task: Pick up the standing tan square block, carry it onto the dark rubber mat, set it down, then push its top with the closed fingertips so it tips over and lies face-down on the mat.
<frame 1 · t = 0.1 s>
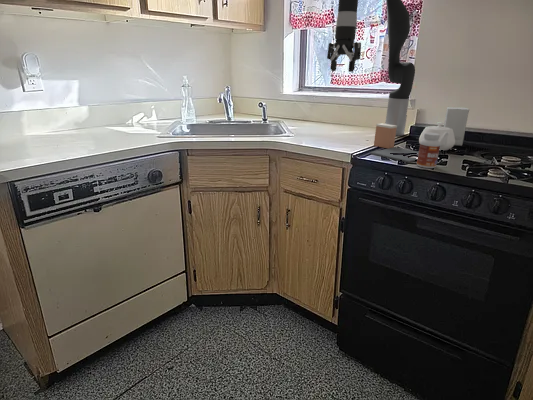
hand: (341, 71, 144), 29 cm above the worktop, fingers open, 8 cm apart
teapot: (435, 149, 152), on the worktop
tan square block: (383, 146, 153), on the worktop
pill bottle: (425, 166, 124), on the worktop
skincare box: (450, 144, 162), on the worktop
mat: (401, 155, 139), on the worktop
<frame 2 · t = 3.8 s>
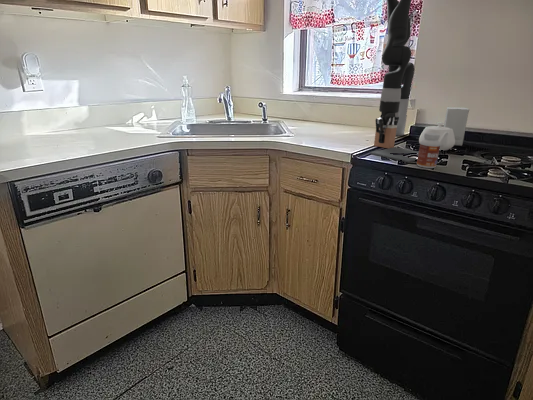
hand: (384, 142, 152), 2 cm above the worktop, fingers closed on tan square block, 4 cm apart
tan square block: (383, 146, 153), on the worktop, touching gripper
everything else where it was.
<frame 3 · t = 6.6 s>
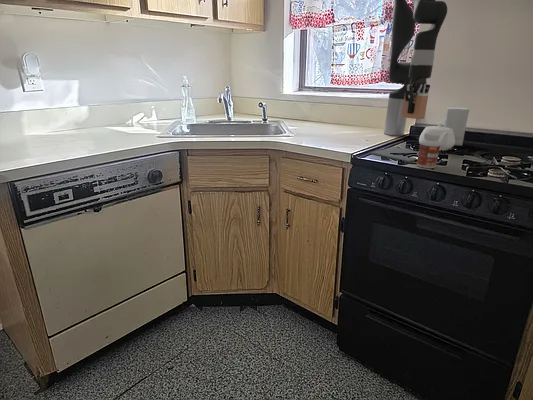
hand: (413, 112, 136), 15 cm above the worktop, fingers closed on tan square block, 4 cm apart
tan square block: (412, 117, 137), point 14 cm above the worktop, touching gripper
everything else where it was.
when the fingers open (4 cm above the worktop, at t = 9.4 s): tan square block drops 1 cm, resting on mat.
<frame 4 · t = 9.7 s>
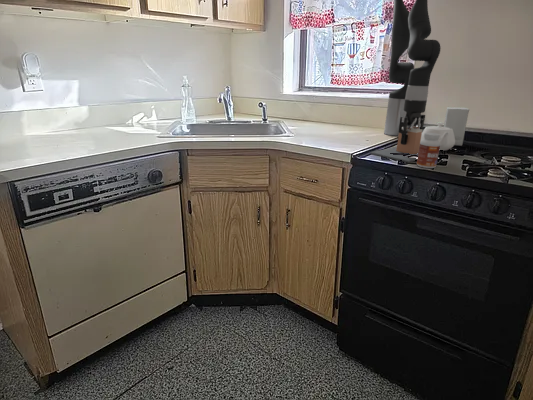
hand: (408, 143, 140), 4 cm above the worktop, fingers open, 7 cm apart
tan square block: (407, 152, 141), point 1 cm above the worktop, touching mat
everything else where it was.
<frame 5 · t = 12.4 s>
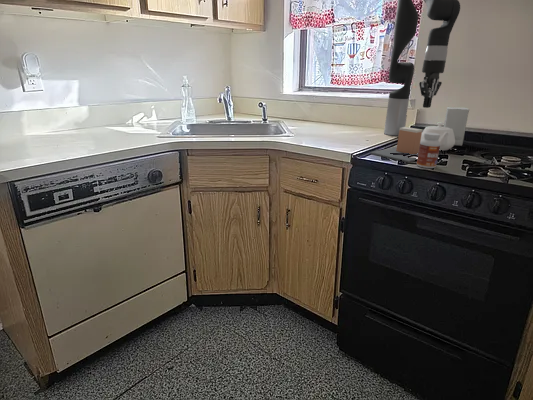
hand: (426, 107, 141), 17 cm above the worktop, fingers closed
nothing on the worktop moved.
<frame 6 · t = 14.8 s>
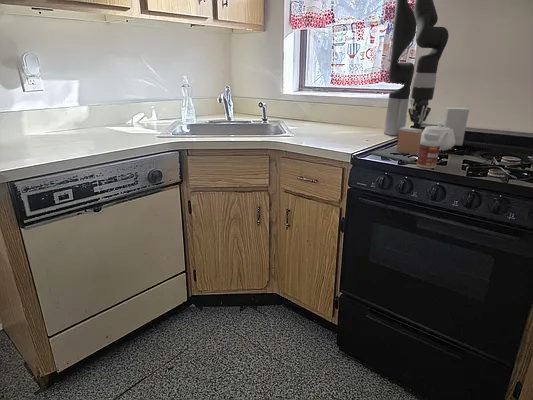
hand: (415, 132, 141), 8 cm above the worktop, fingers closed
tan square block: (407, 152, 141), point 1 cm above the worktop, touching gripper, mat
everything else where it was.
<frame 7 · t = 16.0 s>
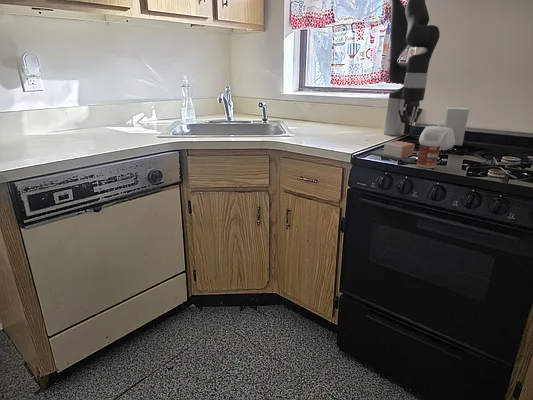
hand: (406, 134, 137), 8 cm above the worktop, fingers closed
tan square block: (405, 147, 139), point 3 cm above the worktop, tilted 90°, touching mat
everything else where it was.
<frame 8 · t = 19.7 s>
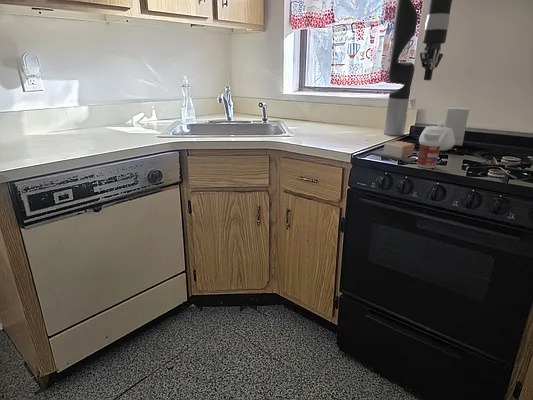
hand: (427, 80, 136), 27 cm above the worktop, fingers closed
nothing on the worktop moved.
at the end: tan square block tilted 90°; tan square block inside the target area on the mat (2.5 cm from its centre), point 2.6 cm above the mat's base; the gripper is holding nothing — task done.
